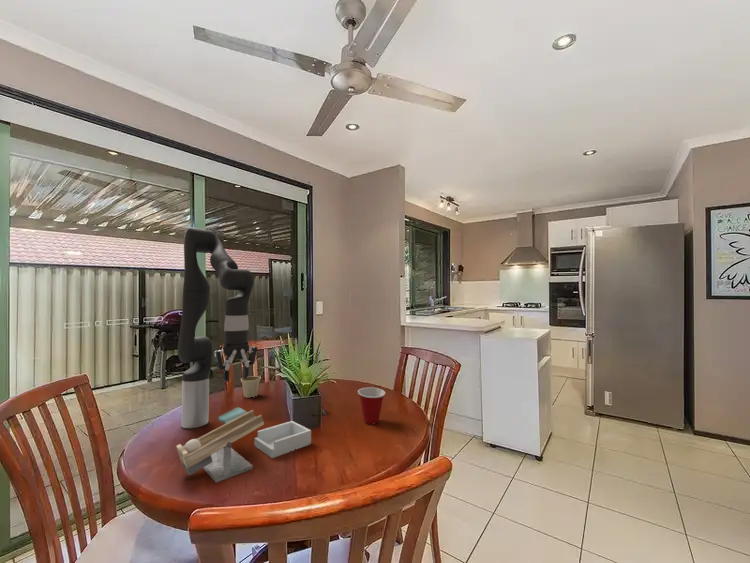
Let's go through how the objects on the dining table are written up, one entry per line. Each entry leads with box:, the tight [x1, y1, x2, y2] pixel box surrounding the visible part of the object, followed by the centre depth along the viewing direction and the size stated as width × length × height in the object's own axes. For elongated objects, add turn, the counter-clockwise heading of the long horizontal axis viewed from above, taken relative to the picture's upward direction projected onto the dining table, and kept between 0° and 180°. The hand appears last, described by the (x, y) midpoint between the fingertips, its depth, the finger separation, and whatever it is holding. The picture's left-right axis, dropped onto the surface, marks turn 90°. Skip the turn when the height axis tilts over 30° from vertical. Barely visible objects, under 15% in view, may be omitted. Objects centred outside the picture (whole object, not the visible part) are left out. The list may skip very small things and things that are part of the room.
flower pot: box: [240, 375, 262, 399], centre depth 166 cm, size 9×9×9 cm
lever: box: [176, 406, 265, 476], centre depth 103 cm, size 20×22×6 cm
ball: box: [184, 438, 201, 454], centre depth 93 cm, size 4×4×4 cm
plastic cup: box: [357, 386, 386, 425], centre depth 132 cm, size 11×11×12 cm
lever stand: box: [202, 446, 253, 484], centre depth 99 cm, size 16×10×6 cm, turn 44°
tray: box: [253, 420, 312, 459], centre depth 112 cm, size 12×14×4 cm
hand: (235, 379), depth 112 cm, fingers open, 5 cm apart
